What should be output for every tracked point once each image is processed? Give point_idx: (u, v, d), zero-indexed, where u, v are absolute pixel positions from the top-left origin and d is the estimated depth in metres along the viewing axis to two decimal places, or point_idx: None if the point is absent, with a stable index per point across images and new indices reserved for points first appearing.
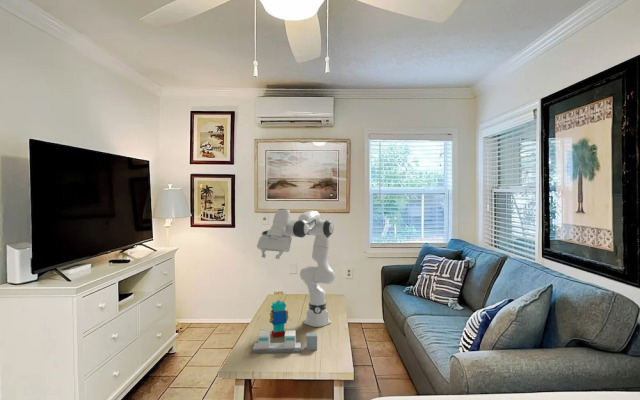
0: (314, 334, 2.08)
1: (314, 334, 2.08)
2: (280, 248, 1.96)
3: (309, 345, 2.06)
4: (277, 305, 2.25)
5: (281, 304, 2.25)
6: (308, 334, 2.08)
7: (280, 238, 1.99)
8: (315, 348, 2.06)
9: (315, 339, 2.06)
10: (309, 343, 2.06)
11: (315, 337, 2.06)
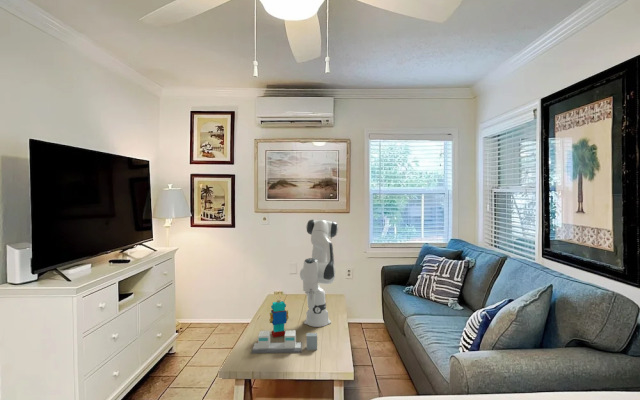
0: (314, 334, 2.08)
1: (314, 334, 2.08)
2: None
3: (309, 345, 2.06)
4: (277, 305, 2.25)
5: (281, 304, 2.25)
6: (308, 334, 2.08)
7: (307, 293, 2.03)
8: (315, 348, 2.06)
9: (315, 339, 2.06)
10: (309, 343, 2.06)
11: (315, 337, 2.06)
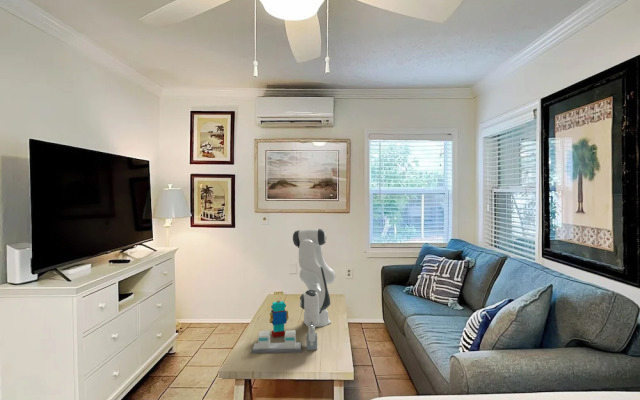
0: None
1: None
2: None
3: (309, 344, 2.06)
4: (277, 305, 2.25)
5: (281, 304, 2.25)
6: (308, 334, 2.08)
7: (308, 326, 2.04)
8: (315, 348, 2.06)
9: (315, 339, 2.06)
10: (309, 343, 2.06)
11: (315, 337, 2.06)
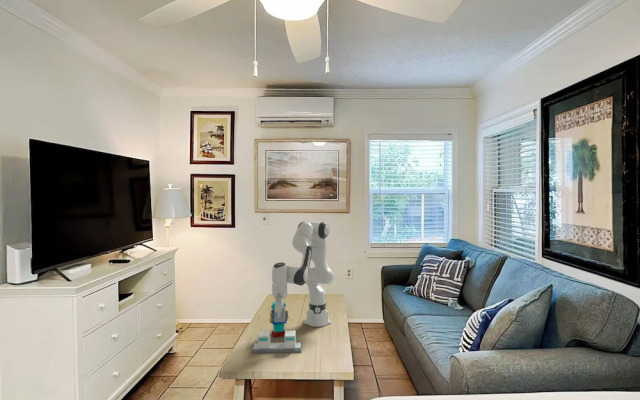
0: None
1: (282, 307, 2.07)
2: None
3: (276, 317, 2.05)
4: None
5: None
6: None
7: None
8: (282, 320, 2.05)
9: (283, 311, 2.05)
10: (276, 315, 2.05)
11: (283, 309, 2.05)
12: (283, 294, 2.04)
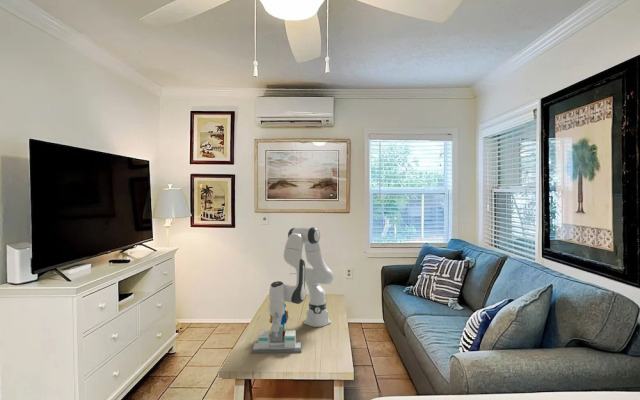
0: None
1: None
2: None
3: (274, 336, 2.05)
4: None
5: None
6: None
7: (273, 317, 2.03)
8: (280, 339, 2.05)
9: (280, 330, 2.05)
10: (273, 334, 2.05)
11: (280, 328, 2.05)
12: (280, 313, 2.04)
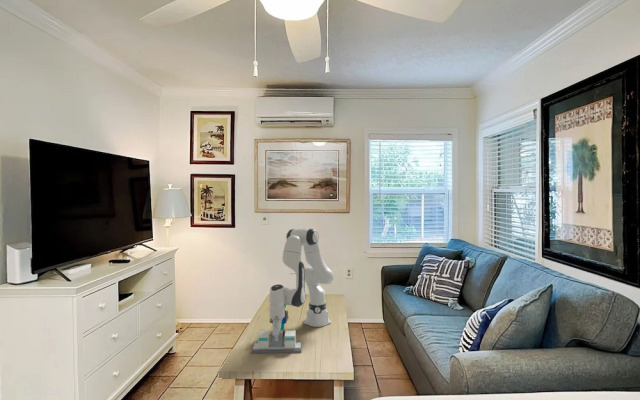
0: (280, 331, 2.08)
1: None
2: None
3: (274, 341, 2.05)
4: None
5: None
6: None
7: (273, 320, 2.03)
8: (280, 345, 2.06)
9: (280, 336, 2.05)
10: (274, 340, 2.05)
11: (280, 334, 2.05)
12: (280, 317, 2.04)
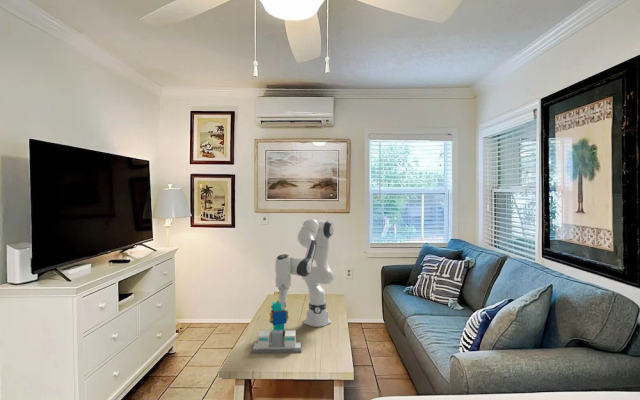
0: (280, 331, 2.08)
1: (279, 331, 2.07)
2: None
3: (274, 341, 2.05)
4: (277, 305, 2.25)
5: None
6: (274, 331, 2.08)
7: None
8: (280, 345, 2.06)
9: (280, 336, 2.05)
10: (274, 340, 2.05)
11: (280, 334, 2.05)
12: (287, 285, 2.05)
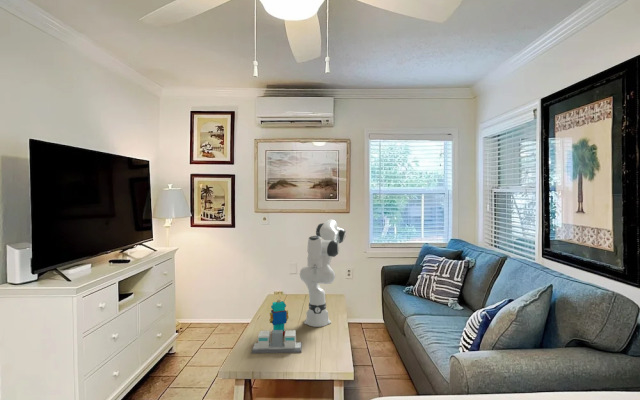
0: (280, 331, 2.08)
1: (279, 331, 2.07)
2: None
3: (274, 341, 2.05)
4: (277, 305, 2.25)
5: (281, 304, 2.25)
6: (274, 331, 2.08)
7: (311, 269, 2.11)
8: (280, 345, 2.06)
9: (280, 336, 2.05)
10: (274, 340, 2.05)
11: (280, 334, 2.05)
12: (319, 265, 2.12)
